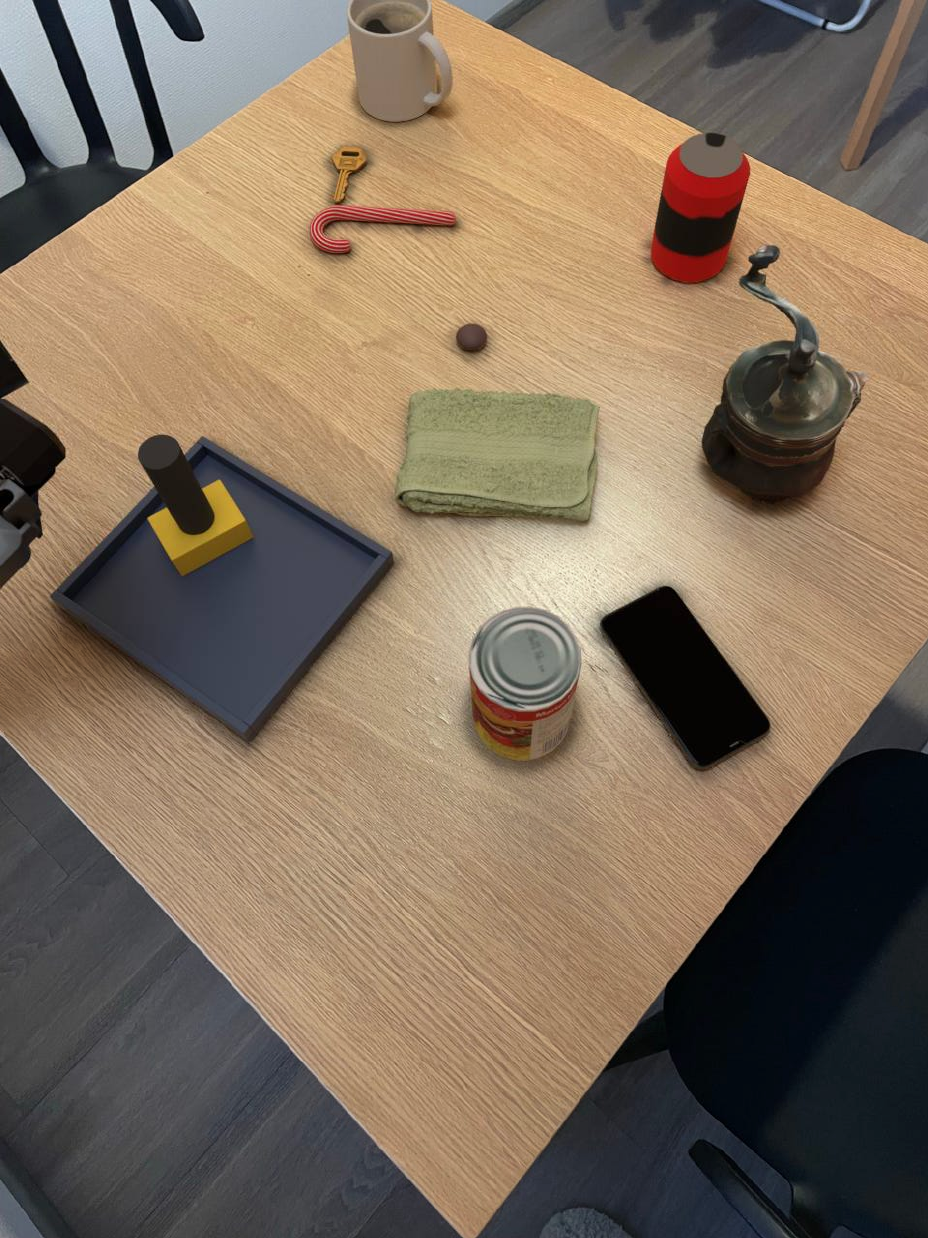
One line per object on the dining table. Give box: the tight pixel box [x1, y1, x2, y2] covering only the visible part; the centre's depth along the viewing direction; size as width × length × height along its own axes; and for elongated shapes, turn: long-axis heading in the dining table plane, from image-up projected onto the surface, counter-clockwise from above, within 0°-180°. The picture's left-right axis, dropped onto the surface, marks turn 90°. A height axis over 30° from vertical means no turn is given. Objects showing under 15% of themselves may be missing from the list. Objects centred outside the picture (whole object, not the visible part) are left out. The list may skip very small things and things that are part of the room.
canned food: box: [468, 606, 582, 762], centre depth 73 cm, size 8×8×12 cm
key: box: [331, 146, 368, 204], centre depth 104 cm, size 4×8×1 cm, turn 173°
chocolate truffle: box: [455, 322, 488, 351], centre depth 94 cm, size 3×3×2 cm
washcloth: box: [394, 387, 601, 522], centre depth 87 cm, size 13×18×3 cm
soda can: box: [650, 132, 751, 283], centre depth 93 cm, size 8×8×12 cm
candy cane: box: [308, 204, 457, 254], centre depth 100 cm, size 6×15×2 cm, turn 84°
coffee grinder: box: [701, 244, 868, 506], centre depth 80 cm, size 13×15×18 cm
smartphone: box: [599, 585, 772, 771], centre depth 79 cm, size 7×1×15 cm
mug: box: [346, 0, 454, 123], centre depth 105 cm, size 11×10×10 cm
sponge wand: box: [137, 433, 253, 576], centre depth 80 cm, size 7×5×13 cm
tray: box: [49, 435, 395, 743], centre depth 83 cm, size 20×22×2 cm
